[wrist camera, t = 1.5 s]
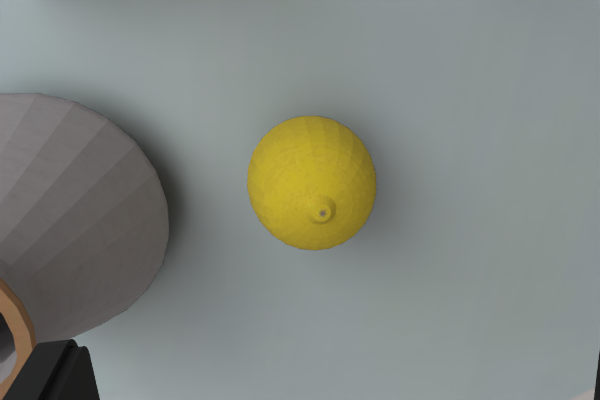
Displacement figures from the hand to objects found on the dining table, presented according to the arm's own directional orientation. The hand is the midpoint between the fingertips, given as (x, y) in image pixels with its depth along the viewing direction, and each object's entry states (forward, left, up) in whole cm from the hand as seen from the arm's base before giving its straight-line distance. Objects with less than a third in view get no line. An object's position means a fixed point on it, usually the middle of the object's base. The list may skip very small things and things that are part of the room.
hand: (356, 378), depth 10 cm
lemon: (-1, +1, -19) cm, 19 cm away
